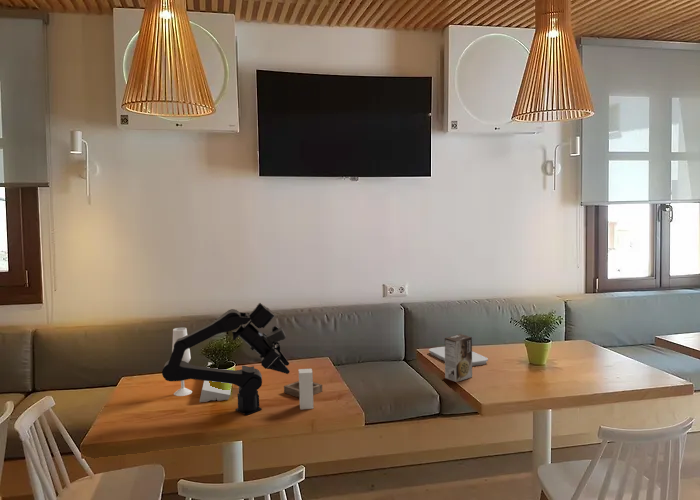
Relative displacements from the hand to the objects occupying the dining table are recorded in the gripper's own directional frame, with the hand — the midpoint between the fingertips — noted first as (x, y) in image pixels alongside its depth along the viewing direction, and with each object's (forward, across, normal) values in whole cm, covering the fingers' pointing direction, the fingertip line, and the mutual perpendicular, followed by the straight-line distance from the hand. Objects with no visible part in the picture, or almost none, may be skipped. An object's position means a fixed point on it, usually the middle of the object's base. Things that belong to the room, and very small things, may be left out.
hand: (288, 368), depth 191 cm
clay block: (+14, 0, +6) cm, 15 cm away
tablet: (+62, +45, -42) cm, 87 cm away
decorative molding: (-9, +28, +29) cm, 42 cm away
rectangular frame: (+13, +15, +6) cm, 21 cm away
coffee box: (+56, +20, -37) cm, 70 cm away
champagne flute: (-18, +22, +37) cm, 47 cm away
